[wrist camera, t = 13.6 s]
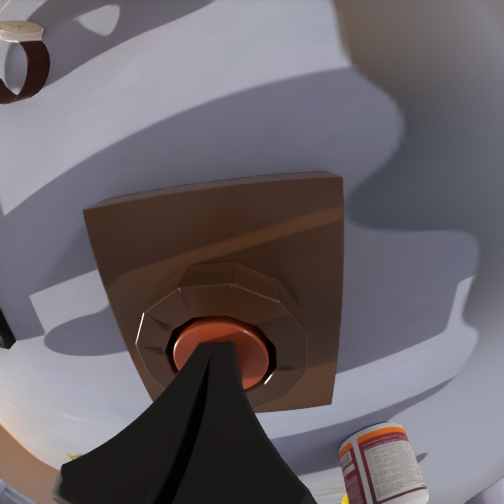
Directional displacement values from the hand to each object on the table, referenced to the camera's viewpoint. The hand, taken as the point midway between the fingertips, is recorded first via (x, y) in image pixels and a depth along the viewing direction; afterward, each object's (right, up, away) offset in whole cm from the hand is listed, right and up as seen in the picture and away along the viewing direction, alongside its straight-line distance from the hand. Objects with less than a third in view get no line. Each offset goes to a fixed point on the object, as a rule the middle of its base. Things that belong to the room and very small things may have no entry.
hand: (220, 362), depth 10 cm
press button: (0, +1, +2) cm, 2 cm away
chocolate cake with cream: (-12, +15, -1) cm, 19 cm away
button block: (0, +1, +4) cm, 4 cm away
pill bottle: (+12, -12, +9) cm, 19 cm away
